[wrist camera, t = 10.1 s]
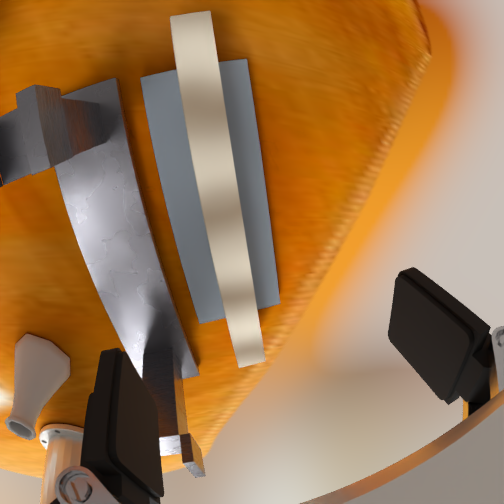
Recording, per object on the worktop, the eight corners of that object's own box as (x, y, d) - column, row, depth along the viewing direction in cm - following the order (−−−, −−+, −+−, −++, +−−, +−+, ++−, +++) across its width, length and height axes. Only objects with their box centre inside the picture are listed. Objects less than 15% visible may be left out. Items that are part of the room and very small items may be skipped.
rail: (257, 340, 30) (265, 361, 27) (233, 346, 29) (239, 367, 27) (205, 23, 17) (210, 10, 14) (170, 29, 17) (169, 16, 14)
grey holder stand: (198, 367, 31) (218, 480, 19) (145, 377, 30) (148, 489, 18) (118, 79, 18) (47, 38, 6) (47, 104, 17) (-68, 110, 5)
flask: (62, 389, 28) (48, 458, 20) (11, 360, 25) (-15, 426, 16) (80, 355, 27) (63, 432, 18) (22, 321, 24) (-12, 393, 15)
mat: (277, 297, 29) (280, 303, 28) (198, 317, 28) (199, 323, 27) (243, 61, 20) (246, 58, 19) (141, 79, 19) (140, 77, 18)
